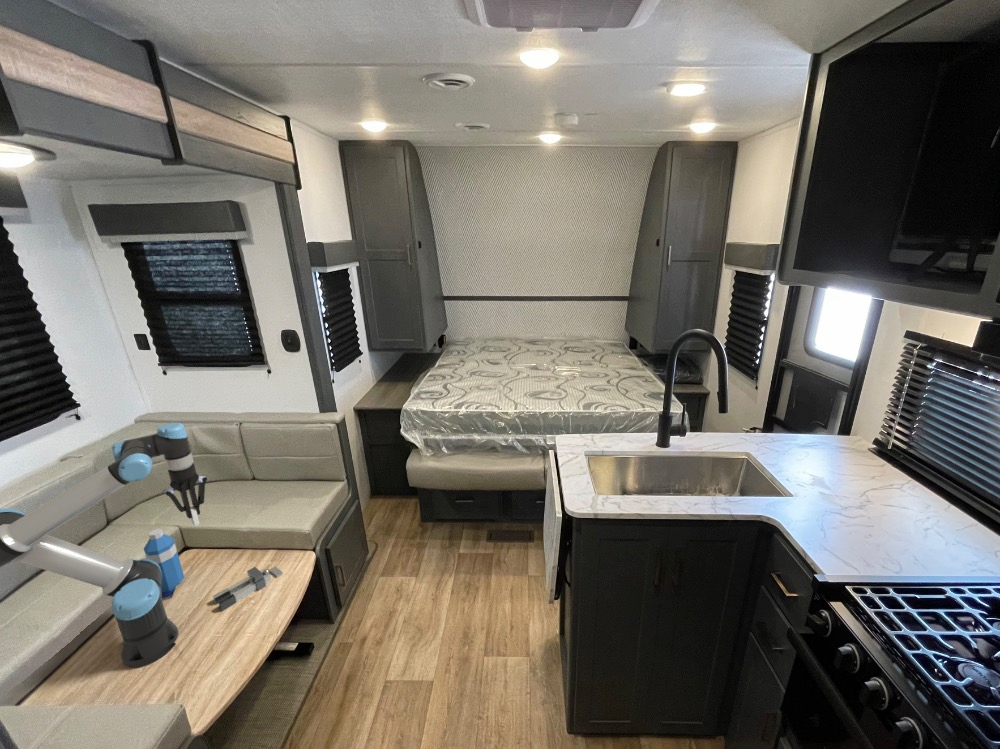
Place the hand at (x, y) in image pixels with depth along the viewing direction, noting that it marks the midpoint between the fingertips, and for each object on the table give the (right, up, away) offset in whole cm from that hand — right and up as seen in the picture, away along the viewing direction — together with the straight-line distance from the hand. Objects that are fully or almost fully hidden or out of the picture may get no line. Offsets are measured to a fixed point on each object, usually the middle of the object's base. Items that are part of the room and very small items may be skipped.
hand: (196, 523), depth 156 cm
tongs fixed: (+14, -29, +11) cm, 34 cm away
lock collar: (+16, -28, +12) cm, 35 cm away
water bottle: (-21, -30, +15) cm, 39 cm away
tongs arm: (+11, -29, +10) cm, 33 cm away
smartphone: (-16, -31, +12) cm, 37 cm away
